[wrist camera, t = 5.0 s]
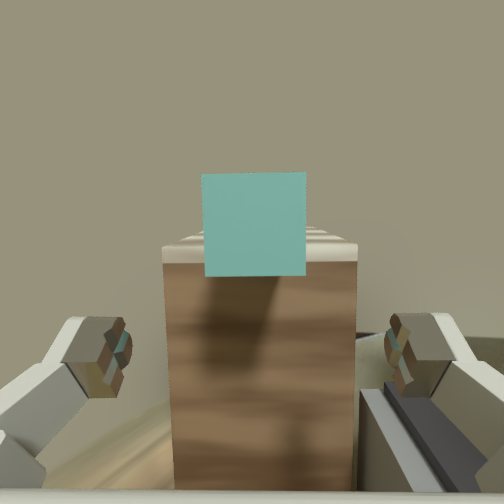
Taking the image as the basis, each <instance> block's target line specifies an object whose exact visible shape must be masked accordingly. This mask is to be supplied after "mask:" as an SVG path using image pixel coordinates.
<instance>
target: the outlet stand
mask: <svg viewBox="0 0 504 504" xmlns="http://www.w3.org/2000/svg"><path fill="white" fill-rule="evenodd" d="M357 257H358V245H357V244H355V243H352V242H350V241H347V240H345V239H342V238H340V237H338V236H335V235H332V234H330V233H328V232H325V231H323V230H320V229H318V228H315V227H306V276H227V277H205V260H204V234H203V231H202V232H200V233H197V234H194V235H192V236H190V237H187V238H184V239H182V240H179V241H177V242H174V243H172V244H169V245H167V246H164V247H162V260H163V278H164V297H165V315H166V333H167V351H168V370H169V388H170V407H171V425H172V443H173V461H174V479H175V490H254V491H351V492H352V462H353V421H354V380H355V340H356V298H357V295H356V294H357Z"/></svg>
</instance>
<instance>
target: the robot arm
mask: <svg viewBox="0 0 504 504" xmlns="http://www.w3.org/2000/svg"><path fill="white" fill-rule="evenodd" d="M390 325H391V327H392V328H390V329H389V330H388V331H386V334H385V338H384V349H385V354H386V357H387V360H388V363H389V364H391V365H392V366H393V367H394V368H395V372H394V374H393V378H394V381H395V384H396V386H397V389H398V392H399V395H400V397H407V398H431V399H430V400H431V401H432V402H433V403H434V404H435V405H436V406H437V407H438V408H439V409H440V410H441V411H442V412H443V413H444V414H445V415H446V416H447V418H448V419H449V420H450V421H451V422H452V423H453V424H454V425H455V426H456V427H457V428H458V429H459V430H460V431H461V432H462V433H463V434H464V435H465V436H466V437H467V438H468V439H469V441H470V442H471V443H472V444H473V445H474V446H475V447H476V448H477V449H478V450H479V451H480V452H481V453H482V454H483V455H484V456H485V457H486V458H487V459H488V461H487V462H486V463H485V464H484V465H483V466H482V467H481V468H480V469H479V470H478V471H477V473H476V475H475V478H476V481H477V483H478V485H479V488H480V490H481V492H482V493H448V492H351V491H254V490H157V489H57V488H41V486H42V484H43V481H44V479H45V477H46V474H47V472H46V469H45V467H43V466H42V465H41V464H40V463H39V462H38V461H37V460H36V459H35V457H36V456H37V455H38V454H39V453H40V452H41V451H42V449H43V448H44V447H45V446H46V445H47V444H48V443H49V442H50V441H51V440H52V439H53V438H54V437H55V436H56V435H57V433H58V432H59V431H60V430H61V429H62V428H63V427H64V426H65V425H66V424H67V423H68V422H69V421H70V420H71V419H72V417H73V416H74V415H75V414H76V413H77V412H78V411H79V410H80V409H81V408H82V407H83V406H84V405H85V404H86V402H87V401H88V400H89V399H88V398H116V397H117V395H118V392H119V390H120V387H121V384H122V381H123V378H124V376H123V374H122V371H121V370H122V369H123V368H125V367H126V366H127V365H128V364H129V361H130V358H131V355H132V339H131V336H130V334H129V333H128V332H126V331H125V330H124V327H125V322H124V320H123V318H122V317H71V318H69V319H68V320H67V321H66V322H65V324H64V326H63V327H62V329H61V330H60V332H59V334H58V336H57V337H56V339H55V341H54V342H53V344H52V346H51V347H50V349H49V351H48V352H47V354H46V356H45V357H44V359H43V361H42V362H41V363H36V364H35V365H34V366H32V367H31V368H29V369H28V370H26V371H25V372H24V373H22V374H21V375H20V376H18V377H17V378H16V379H14V380H13V381H11V382H10V383H9V384H7V385H6V386H5V387H3V388H2V389H1V390H0V504H504V375H502V374H501V373H500V372H498V371H497V370H495V369H494V368H493V367H491V366H490V365H488V364H487V363H486V362H484V361H478V360H477V358H476V357H475V355H474V353H473V352H472V350H471V348H470V347H469V345H468V343H467V342H466V340H465V338H464V337H463V335H462V333H461V332H460V330H459V328H458V327H457V325H456V324H455V322H454V320H453V318H452V317H451V315H449V314H448V313H394V314H393V315H392V316H391V319H390Z"/></svg>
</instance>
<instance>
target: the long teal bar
mask: <svg viewBox="0 0 504 504" xmlns="http://www.w3.org/2000/svg"><path fill="white" fill-rule="evenodd" d="M201 180H202V207H203V234H204V260H205V277H227V276H306V172H285V173H240V174H201Z"/></svg>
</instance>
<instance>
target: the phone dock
mask: <svg viewBox="0 0 504 504" xmlns="http://www.w3.org/2000/svg"><path fill="white" fill-rule="evenodd" d="M430 399H431V398H407V397H400V395H399V392H398V389H397V386H396V384H395V382H384V389H360V399H359V436H358V473H357V492H448V493H482V492H481V490H480V488H479V485H478V483H477V481H476V478H475V475H476V473H477V471H478V470H479V469H480V468H481V467H482V466H483V465H484V464H485V463H486V462H487V461H488V459H487V458H486V457H485V456H484V455H483V454H482V453H481V452H480V451H479V450H478V449H477V448H476V447H475V446H474V445H473V444H472V443H471V442H470V441H469V439H468V438H467V437H466V436H465V435H464V434H463V433H462V432H461V431H460V430H459V429H458V428H457V427H456V426H455V425H454V424H453V423H452V422H451V421H450V420H449V419H448V418H447V416H446V415H445V414H444V413H443V412H442V411H441V410H440V409H439V408H438V407H437V406H436V405H435V404H434V403H433V402H432V401H431V400H430Z"/></svg>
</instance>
